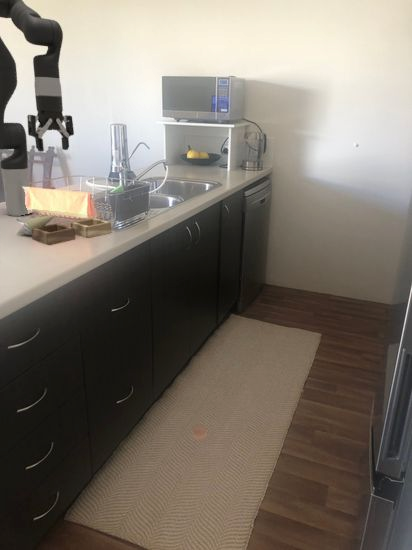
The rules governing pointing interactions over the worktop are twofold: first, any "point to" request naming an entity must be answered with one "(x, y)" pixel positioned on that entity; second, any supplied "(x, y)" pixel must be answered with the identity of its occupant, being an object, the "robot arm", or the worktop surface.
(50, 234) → the walnut holder
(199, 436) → the pale pink round disc
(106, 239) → the worktop surface
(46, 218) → the ice cream cone
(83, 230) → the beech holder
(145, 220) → the worktop surface
